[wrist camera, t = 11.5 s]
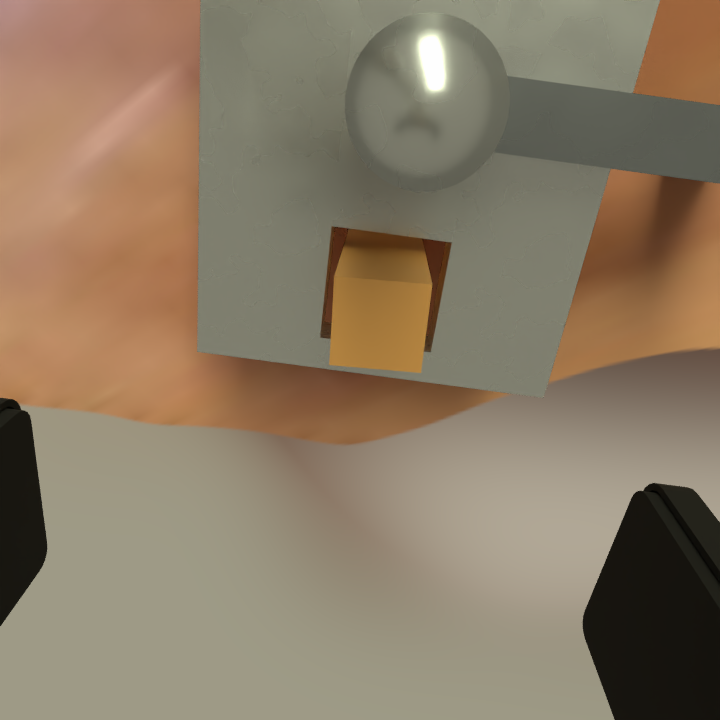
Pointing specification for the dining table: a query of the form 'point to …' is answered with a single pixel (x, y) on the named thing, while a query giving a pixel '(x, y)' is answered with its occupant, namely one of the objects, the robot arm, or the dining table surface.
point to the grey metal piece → (397, 170)
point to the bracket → (612, 130)
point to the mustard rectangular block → (380, 302)
